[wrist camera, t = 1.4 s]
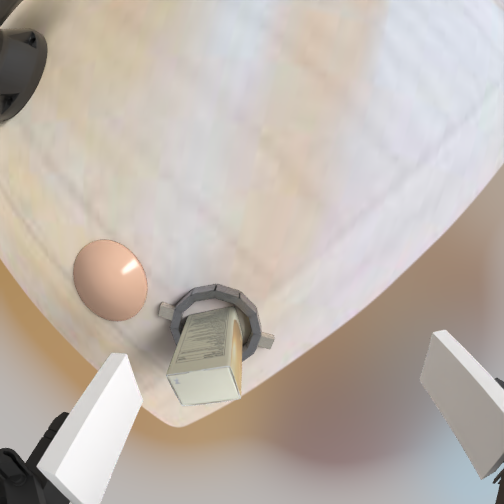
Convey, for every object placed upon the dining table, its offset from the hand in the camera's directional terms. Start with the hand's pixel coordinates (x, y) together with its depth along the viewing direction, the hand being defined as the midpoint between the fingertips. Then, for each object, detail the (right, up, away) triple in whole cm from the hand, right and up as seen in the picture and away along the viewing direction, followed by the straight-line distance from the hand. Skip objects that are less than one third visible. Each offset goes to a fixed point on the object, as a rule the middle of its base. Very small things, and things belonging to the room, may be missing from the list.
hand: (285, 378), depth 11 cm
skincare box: (-6, -4, +25) cm, 26 cm away
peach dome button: (-20, +1, +24) cm, 31 cm away
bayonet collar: (-6, -4, +25) cm, 26 cm away
